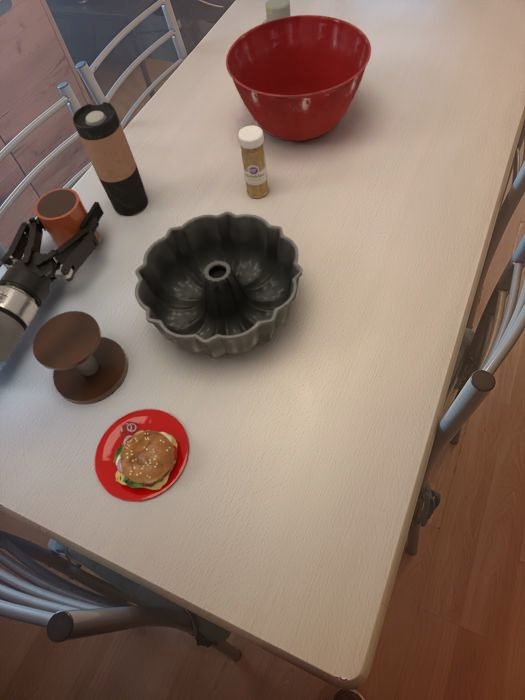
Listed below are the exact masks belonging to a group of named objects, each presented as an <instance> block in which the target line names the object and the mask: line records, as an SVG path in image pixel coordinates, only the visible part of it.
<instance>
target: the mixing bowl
mask: <svg viewBox="0 0 525 700" xmlns="http://www.w3.org/2000/svg"><path fill="white" fill-rule="evenodd" d="M262 23H263V22H262ZM262 23H260V24H258V25H256V26H253V27H252V28H250V29H248V30H247V31H246V32H243V34H241V35H240V36H239V37H237V39H236V40H235V41H234V42H233V43H232V44H231V46H230V47H229V49H228V51H227V53H226V58H225V59H226V60H225V67H226V71H227V73H228V75H229V76H230V78H231V79H232V81H233V84H234V86H235V89H236V90H237V93H238V95H239V97H240V99H241V100H242V102H243V104H244V106H245V107H246V109H247V111H248V112H249V114H250V115H251V116H252V118H253V119H254V121H255V122H256V124H258V126H259V127H260V128H261V129H262V130H264V131H265V132H266V133H268V134H269V135H271V136H273V137H275V138H277V139H281V140H285V141H290V142H303V141H310V140H312V139H316V138H319V137H322V136H323V135H325V134H326V133H328V132H330V131H331V130H332V129H333V128H335V126H337V125H338V124H339V123H340V121H341V120H342V119H343V117H344V116H345V114H346V113H347V111H348V110H349V108H350V106H351V104H352V102H353V100H354V99H355V97H356V94H357V92H358V90H359V87H360V84H361V82H362V79H363V76H364V73H365V70H366V68H367V65H368V63H369V62H370V59H371V55H372V46H371V42H370V40H369V38H368V36H367V35H366V34H365V33H364V31H362V30H361V29H360V28H359V27H357V26H356V25H355V24H352V23H351V22H348V21H345V20H343V19H340V18H336V17H332V16H327V15H321V14H320V15H318V14H298V15H290V16H289V17H283V18H279V19H275V20H272V21H269V22H266V23H263V24H262Z"/></svg>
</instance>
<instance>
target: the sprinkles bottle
mask: <svg viewBox="0 0 525 700" xmlns="http://www.w3.org/2000/svg"><path fill="white" fill-rule="evenodd" d="M237 137H238V144H239V146H240V151H241V152H240V153H241V159H242V166H243V175H244V180H245V184H246V194H247V195H248V196H249V197H250V198H252V199H262V198H264V197H266V196H267V195H268V194H269V191H270V188H269V183H268V172H267V171H268V170H267V160H266V152H265V146H264V144H265V137H264V131H263V128H262V127H261V126H259V125H258V126H257V125H252V124H251V125H246V126H243V127H242V128H241V129H240V130H239V131H238V133H237Z"/></svg>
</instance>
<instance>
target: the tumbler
mask: <svg viewBox="0 0 525 700" xmlns="http://www.w3.org/2000/svg"><path fill="white" fill-rule="evenodd" d="M33 208H34V213H35V215H36V218H37V217H38V218H39V220H40V221H41V223H42V225H43V226H44V228H45V229H46V231H45V232H47V234H48V235H49V237H50V238H51V240H52V242H53V243H54V245H55V247H56V249H57V248H59V247H60V246H61V245H63V244H64V243H65V242H66V241H68V240H69V239H70V238H72V237H73V236H74V235H75V234H77V233H78V232H79V231H81V229H80V227H79V226H80V224H81V223H82V221H83V220H84V218H85V217H86V215H87V214H88V212H89V211H88V210H87V208H86V206H85V204H84V202H83V201H82V199H81V197H80V195H79V193H78V192H77V191H76V190H74V189H72V188H68V187H60V188H59V187H58V188H55V189H52V190H49V191H47V192H45V193H44V194H42V196H40V197H39V198H38V199H37V201H36V203H35V205H34V207H33ZM94 234H95V235H96V237H97V239H98V241H99V243H100V241H101V236H100V233H99V231H98V229H97V230H96V231H95V233H94Z"/></svg>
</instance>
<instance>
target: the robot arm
mask: <svg viewBox="0 0 525 700" xmlns="http://www.w3.org/2000/svg"><path fill="white" fill-rule="evenodd" d="M87 212H88V214H87V215H86V217H85V218H84V220H83V221H82V223H81V224H80V226H79V227H80V229H81V231H79V232H78V233H77V234H75V235H74V236H73V237H72V238H70V239H69V240H68V241H66V242H65V243H64V244H63V245H61V246H60V247H59V248H57V247H56V249H51V250H49V251H48V252H47V253H41V251H42V250H41V249H42V242H43V236H44V232H47V231H46V229H45V228H44V226H43V225H42V223H41V221H40V220H39V218H38V217H37V216H36V218H35V217H30V218H29V219H28V222H29V223H28V222H27V221H23V222H21V223H20V225H19V227H18V228H17V231H16V233H15V235H14V238H13V240H12V241H11V244H10V246H9V247H8V250H7V252H6V253H5V254H4V255H3V256H2V257H1V258H0V262H1V264H2V265H3V266H4V267H5V269H6V270H5V272H4V273H3V275H2V277H1V278H0V372H1V371H2V369H3V368H4V366H5V365H7V363H8V360H9V358H10V357H11V356H12V354H13V352H14V350H15V349H16V348H17V345H18V343H19V342H20V340H21V339H22V338H23V335H24V334H25V332H26V331H27V329H28V328H29V326H30V325H31V323H32V322H33V320H34V318H35V316H36V315H37V313H39V308H40V307H42V305H43V304H44V302H45V300H46V299H47V297H48V296H49V294H50V291H51V285H52V284H53V283H54V282H55V281H57V280H58V279H65V280H66V281H67V282H72V281H73V280H74V278H75V277H76V273H77V272H78V270H79V269H80V268H81V267H82V266H83V264H84V263H85V262H86V260H88V258H89V257H90V256H91V255H92V254H93V252H94V251H96V249H97V248H98V246H99V245H100V242H99V241H98V239H97V237H96V235H95V234H94V233H95V231H96V230H97V231H98V228H99V226H100V220H101V219H102V217H103V215H104V214H105V213H104V209H102V206H101V204H100V202H99V201H94V203H93V204H92V206H91V207H90V209H89V210H88V211H87Z"/></svg>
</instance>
